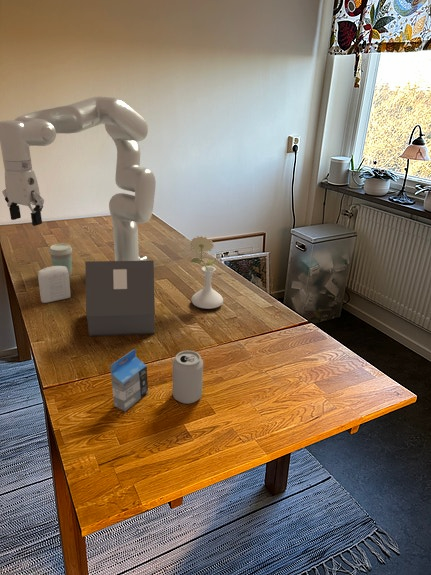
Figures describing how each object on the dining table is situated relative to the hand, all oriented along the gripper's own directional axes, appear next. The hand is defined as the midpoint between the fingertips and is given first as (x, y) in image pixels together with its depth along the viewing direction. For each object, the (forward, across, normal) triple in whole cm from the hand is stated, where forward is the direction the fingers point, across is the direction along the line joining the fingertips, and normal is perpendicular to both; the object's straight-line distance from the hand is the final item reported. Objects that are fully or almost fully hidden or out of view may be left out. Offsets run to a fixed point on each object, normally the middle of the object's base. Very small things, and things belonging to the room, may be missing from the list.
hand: (26, 221), depth 140 cm
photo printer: (+31, +1, -8) cm, 32 cm away
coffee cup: (+31, +15, -24) cm, 42 cm away
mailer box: (+31, -29, -9) cm, 43 cm away
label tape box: (+31, -56, +19) cm, 67 cm away
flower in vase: (+31, -44, -35) cm, 65 cm away
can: (+31, -67, +10) cm, 75 cm away
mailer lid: (+17, -31, -6) cm, 36 cm away
